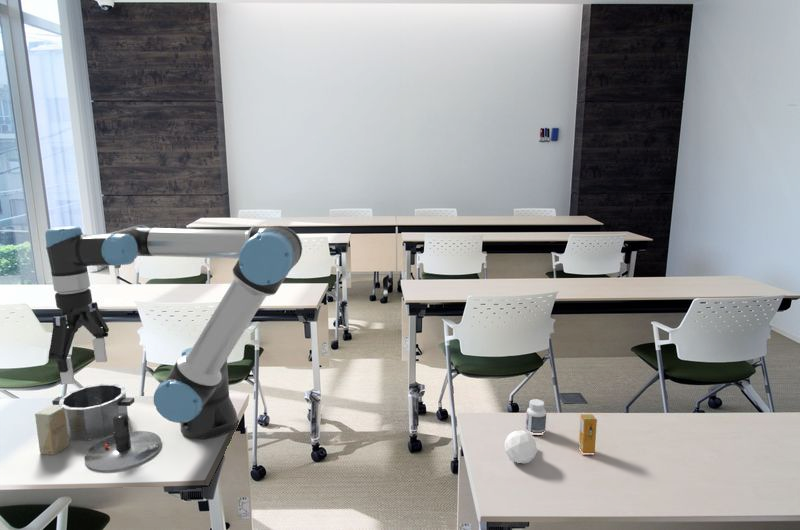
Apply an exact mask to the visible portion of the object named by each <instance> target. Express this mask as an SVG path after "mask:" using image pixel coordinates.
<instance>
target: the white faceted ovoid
mask: <svg viewBox="0 0 800 530" xmlns="http://www.w3.org/2000/svg"><path fill="white" fill-rule="evenodd" d="M503 445H504V449H505V453H506V455H507V456H508V458H509V460H510V461H512V462H514V463H516V462H517V463H516V464H518V463H522V464H528V463H529V462H531V461H533V460H534V459H535V457H536V454H537V452H538V447H537V442H536V439H535V438H534V436H533V435H531V434H530V433H528V432H526V430H520V429H519V430H514V431H512V432H510V433H509V434H508V435H507V437H506V439H505V441H504V444H503Z"/></svg>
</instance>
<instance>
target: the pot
mask: <svg viewBox="0 0 800 530" xmlns="http://www.w3.org/2000/svg"><path fill="white" fill-rule="evenodd" d="M126 396H127V395H126V387H125V386H123V385H120V384H118V383H100V384H94V385H89V386H88V385H87V386H84V387H81V388H78V389H75V390H73V391H69V392H68V393H67V394H65V395H64V396H57V397H56V398H55V399H53V400H52V401H51V402H52V406H60V407H64V409H65V418H66V426H67V435H68V440H70V441H91V440H95V439H102V438H105V437H107V436H109V435H112V434H115V433H114V424H113V416H115V415H117V414H121V413H126V414H128V415H129V413H128V407H130V406H132V405H133V404H134V403H135V397H126Z"/></svg>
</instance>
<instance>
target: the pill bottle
mask: <svg viewBox="0 0 800 530" xmlns="http://www.w3.org/2000/svg"><path fill="white" fill-rule="evenodd" d="M528 405H529V407H527V409H526V420H525V430H526V429H527V430H528V431H530V432H533V433H542V432H544V431H545V432H546V425H547V411H546V409H545V402H544V401H543V400H542V399H537V398H535V399H534V398H533V399H531V400H529V404H528Z"/></svg>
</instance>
